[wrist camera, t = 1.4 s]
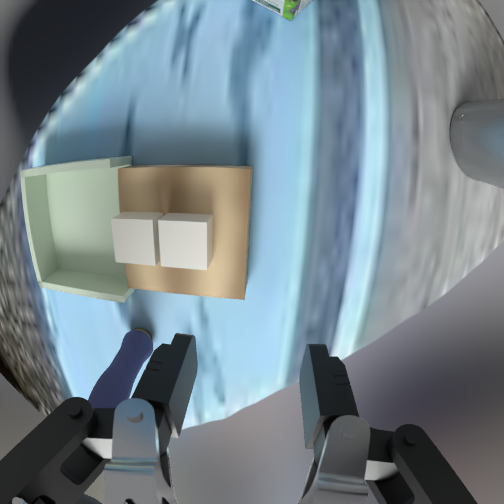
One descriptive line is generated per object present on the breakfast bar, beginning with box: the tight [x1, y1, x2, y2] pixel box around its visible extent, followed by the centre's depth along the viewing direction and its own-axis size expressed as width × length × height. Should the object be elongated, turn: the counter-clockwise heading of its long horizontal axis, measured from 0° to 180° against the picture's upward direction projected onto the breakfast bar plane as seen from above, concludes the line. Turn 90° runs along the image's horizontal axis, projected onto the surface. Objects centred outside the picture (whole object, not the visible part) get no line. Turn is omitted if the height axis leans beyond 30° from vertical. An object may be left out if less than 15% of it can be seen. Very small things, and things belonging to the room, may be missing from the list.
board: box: [118, 164, 253, 300], centre depth 25 cm, size 12×12×3 cm
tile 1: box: [158, 213, 213, 270], centre depth 23 cm, size 4×4×2 cm
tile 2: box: [111, 211, 163, 266], centre depth 23 cm, size 4×4×2 cm
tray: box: [20, 156, 135, 303], centre depth 25 cm, size 13×14×4 cm
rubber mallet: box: [74, 328, 153, 504], centre depth 19 cm, size 12×8×30 cm, turn 123°
